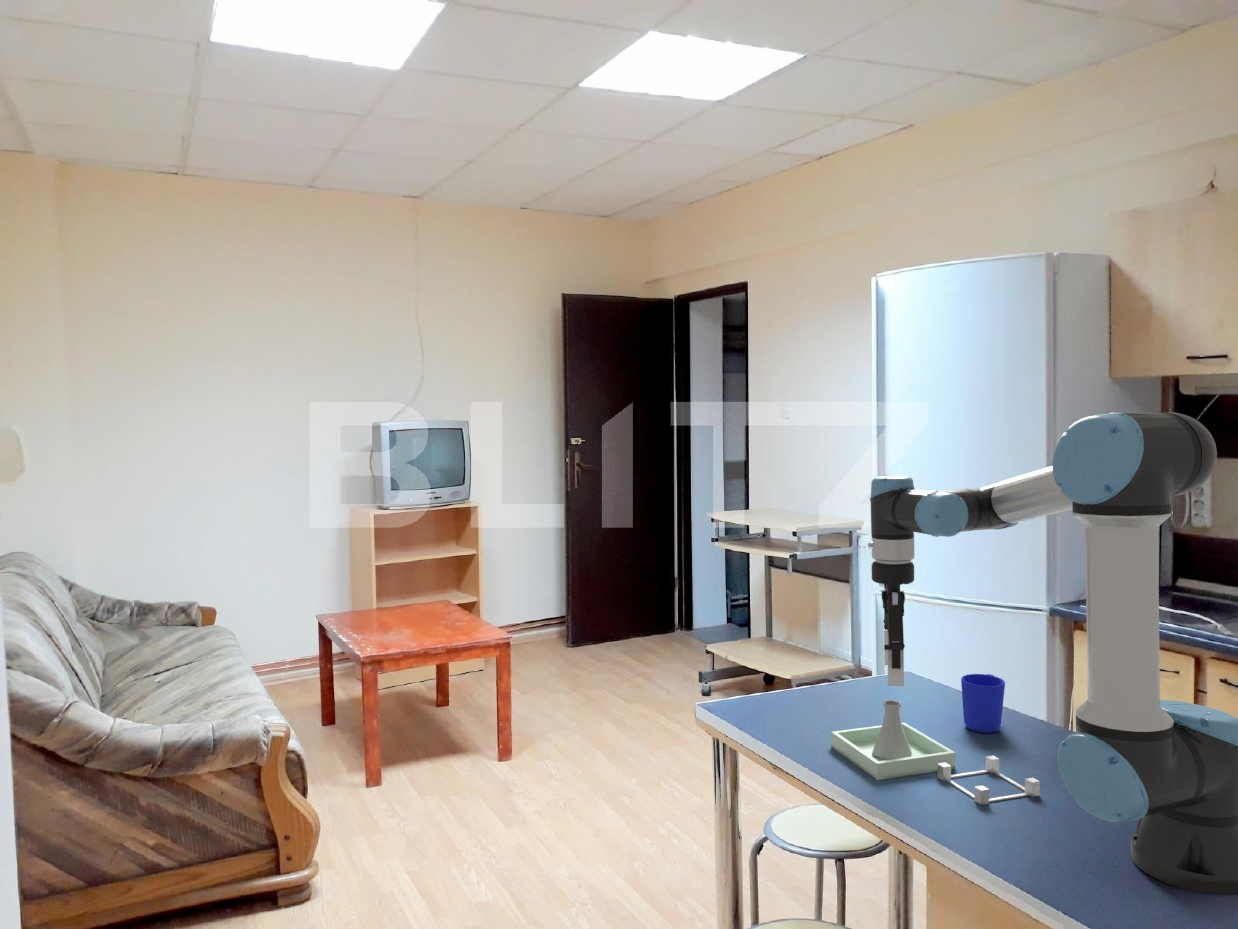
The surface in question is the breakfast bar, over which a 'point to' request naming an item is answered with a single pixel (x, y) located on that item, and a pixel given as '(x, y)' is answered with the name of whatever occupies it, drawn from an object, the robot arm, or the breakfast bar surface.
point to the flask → (892, 735)
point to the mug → (982, 702)
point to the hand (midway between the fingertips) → (893, 675)
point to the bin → (922, 759)
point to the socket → (981, 791)
